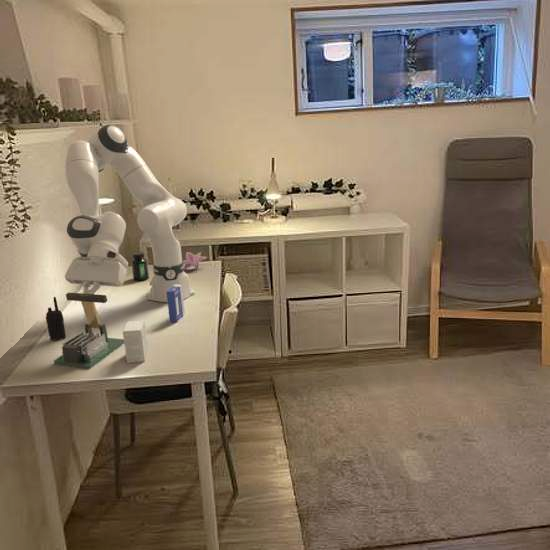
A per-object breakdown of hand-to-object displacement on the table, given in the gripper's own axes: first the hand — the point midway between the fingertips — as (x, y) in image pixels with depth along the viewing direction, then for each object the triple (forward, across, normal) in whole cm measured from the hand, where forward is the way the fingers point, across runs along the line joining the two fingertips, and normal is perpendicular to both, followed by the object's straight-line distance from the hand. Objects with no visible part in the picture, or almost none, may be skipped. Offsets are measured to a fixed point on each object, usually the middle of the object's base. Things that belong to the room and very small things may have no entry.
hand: (87, 296), depth 177 cm
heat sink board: (+15, 0, +11) cm, 18 cm away
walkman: (-8, +14, +34) cm, 38 cm away
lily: (-48, -7, +74) cm, 89 cm away
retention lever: (+7, 0, +8) cm, 11 cm away
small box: (+14, +17, +12) cm, 25 cm away
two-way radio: (+10, -18, +16) cm, 26 cm away
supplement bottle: (-36, -25, +62) cm, 76 cm away
